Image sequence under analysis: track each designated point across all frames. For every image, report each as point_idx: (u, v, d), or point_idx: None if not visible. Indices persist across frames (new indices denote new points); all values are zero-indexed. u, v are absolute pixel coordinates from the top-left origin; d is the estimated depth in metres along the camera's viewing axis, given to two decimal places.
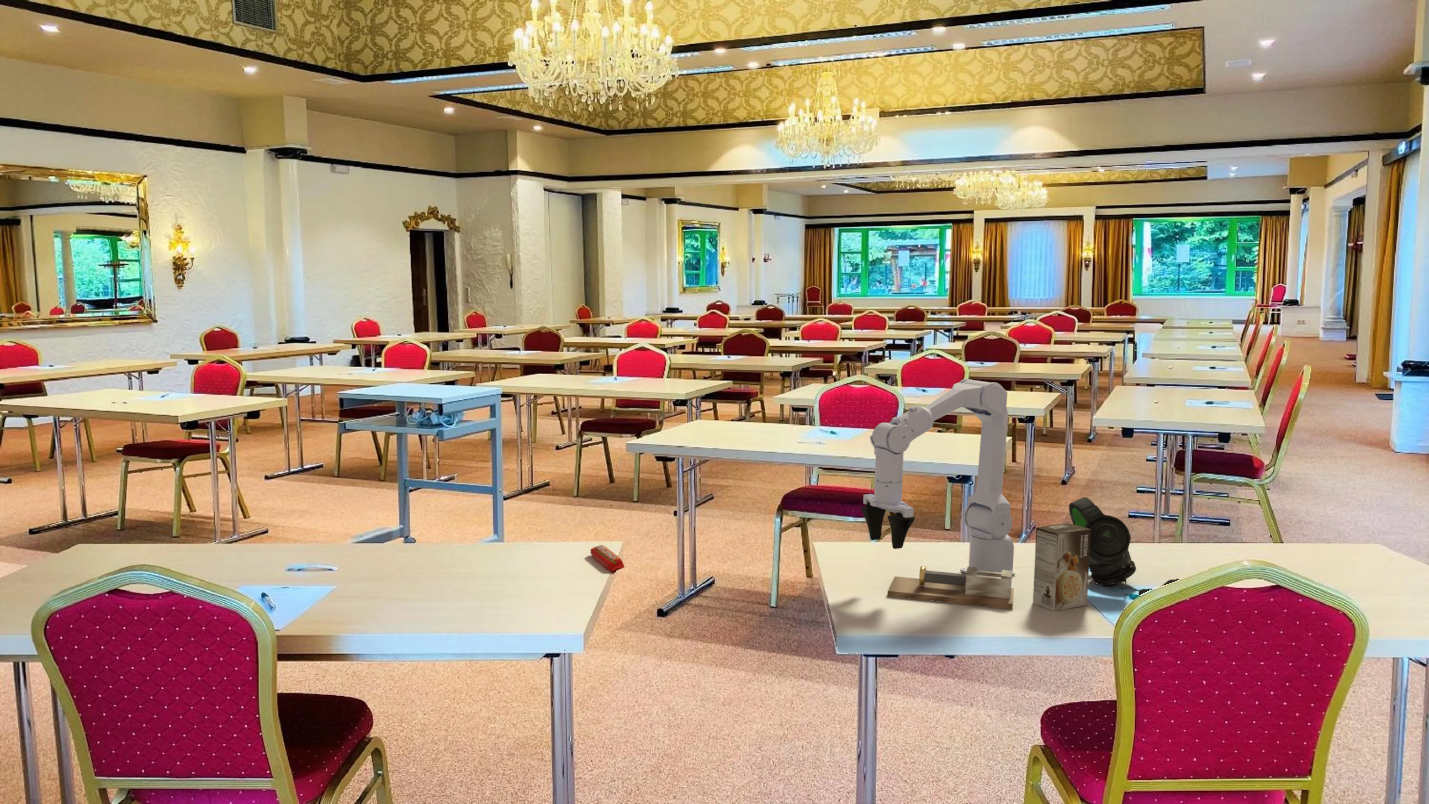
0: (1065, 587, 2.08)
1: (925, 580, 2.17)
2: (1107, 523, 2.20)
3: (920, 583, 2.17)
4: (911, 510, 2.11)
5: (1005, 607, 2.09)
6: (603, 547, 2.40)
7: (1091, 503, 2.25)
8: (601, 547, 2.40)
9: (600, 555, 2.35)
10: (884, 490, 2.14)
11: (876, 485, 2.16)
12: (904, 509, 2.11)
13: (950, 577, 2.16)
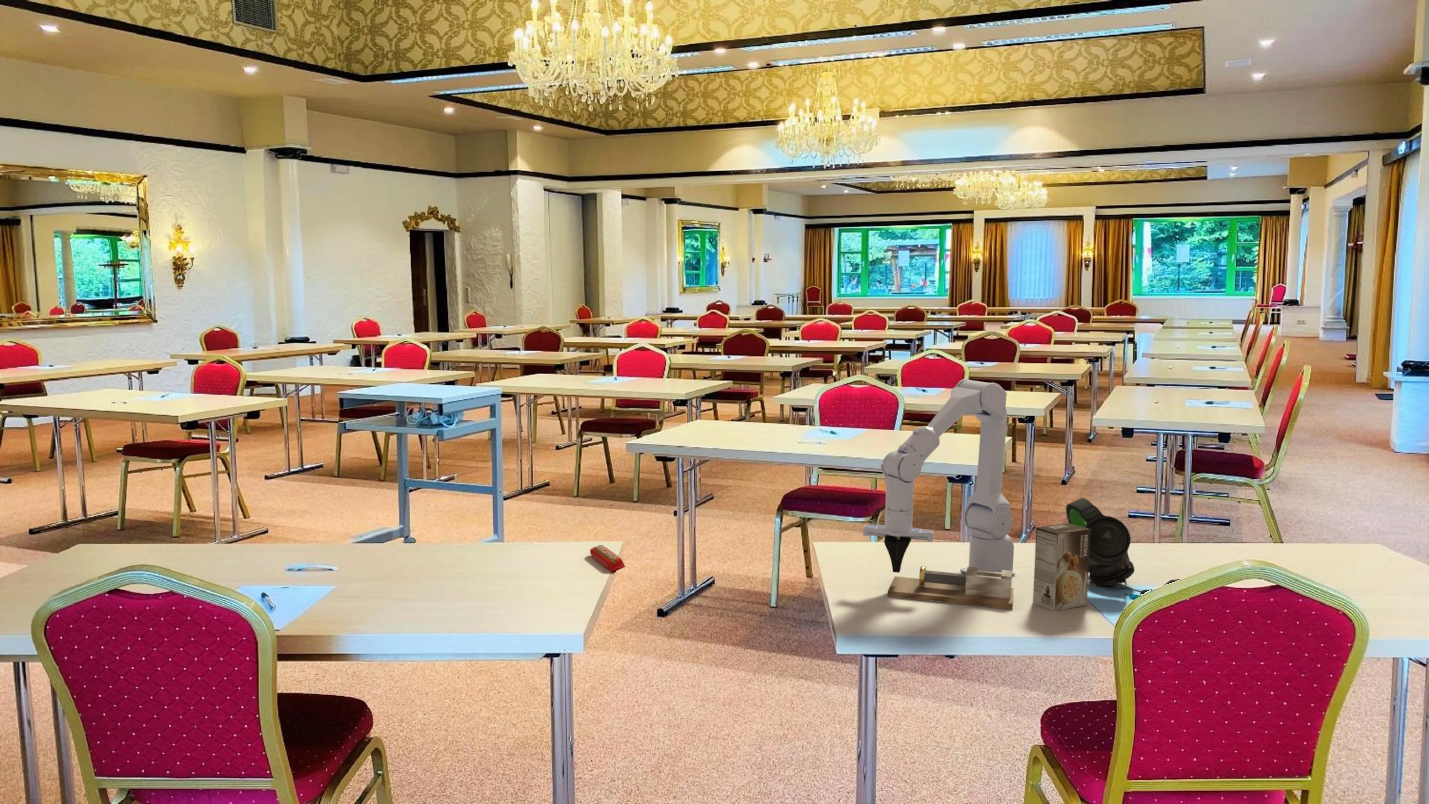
0: (1065, 587, 2.08)
1: (925, 580, 2.17)
2: (1107, 524, 2.19)
3: (920, 583, 2.17)
4: None
5: (1005, 607, 2.09)
6: (603, 547, 2.40)
7: (1090, 504, 2.24)
8: (601, 547, 2.40)
9: (600, 555, 2.35)
10: (905, 519, 2.16)
11: (895, 515, 2.16)
12: (930, 534, 2.16)
13: (950, 577, 2.16)
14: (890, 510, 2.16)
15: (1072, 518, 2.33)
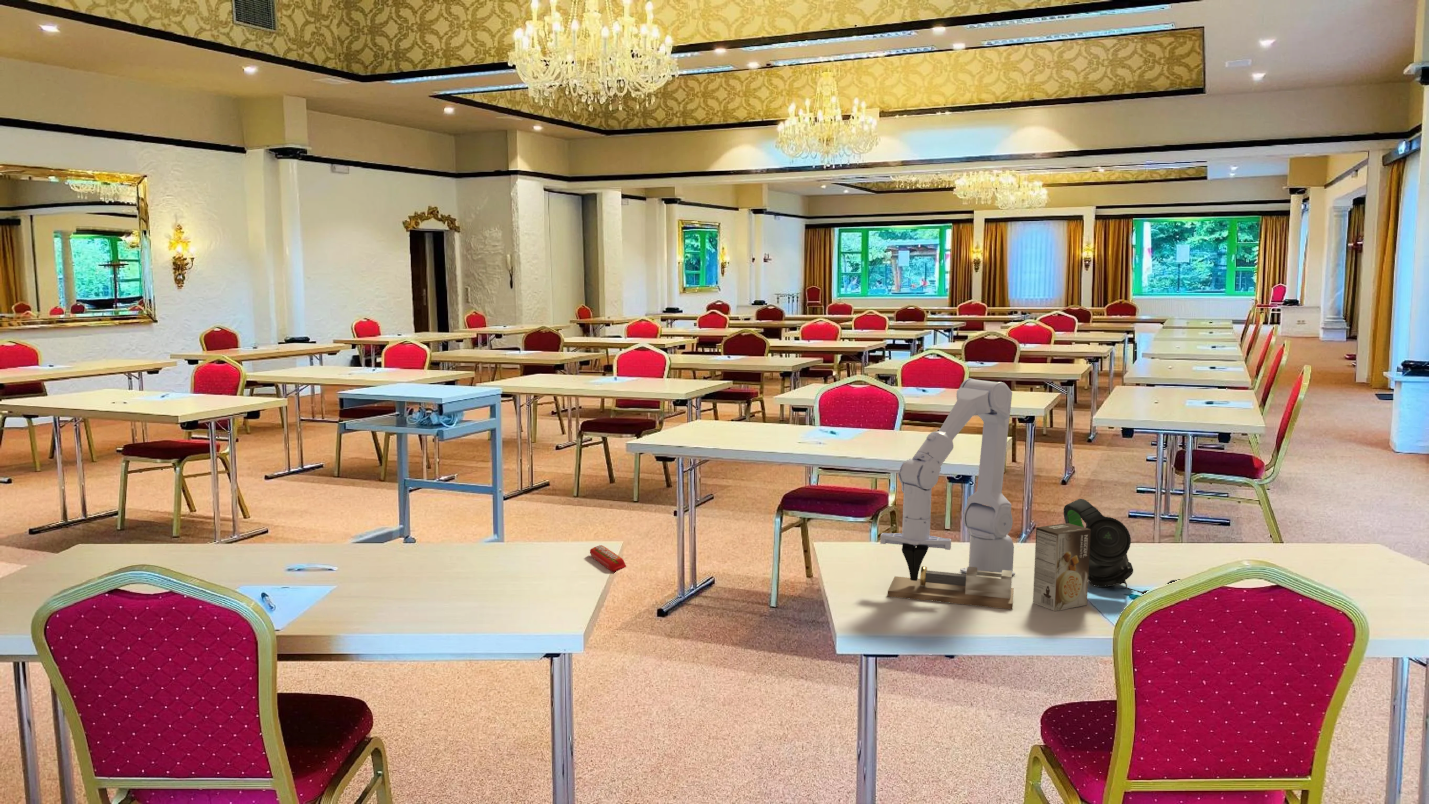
0: (1065, 587, 2.08)
1: (926, 580, 2.17)
2: (1107, 525, 2.18)
3: (921, 583, 2.17)
4: None
5: (1005, 607, 2.09)
6: (603, 547, 2.40)
7: (1089, 505, 2.23)
8: (601, 547, 2.40)
9: (601, 555, 2.35)
10: (923, 527, 2.15)
11: (912, 523, 2.15)
12: (948, 542, 2.15)
13: (951, 577, 2.16)
14: (908, 518, 2.15)
15: (1070, 519, 2.32)
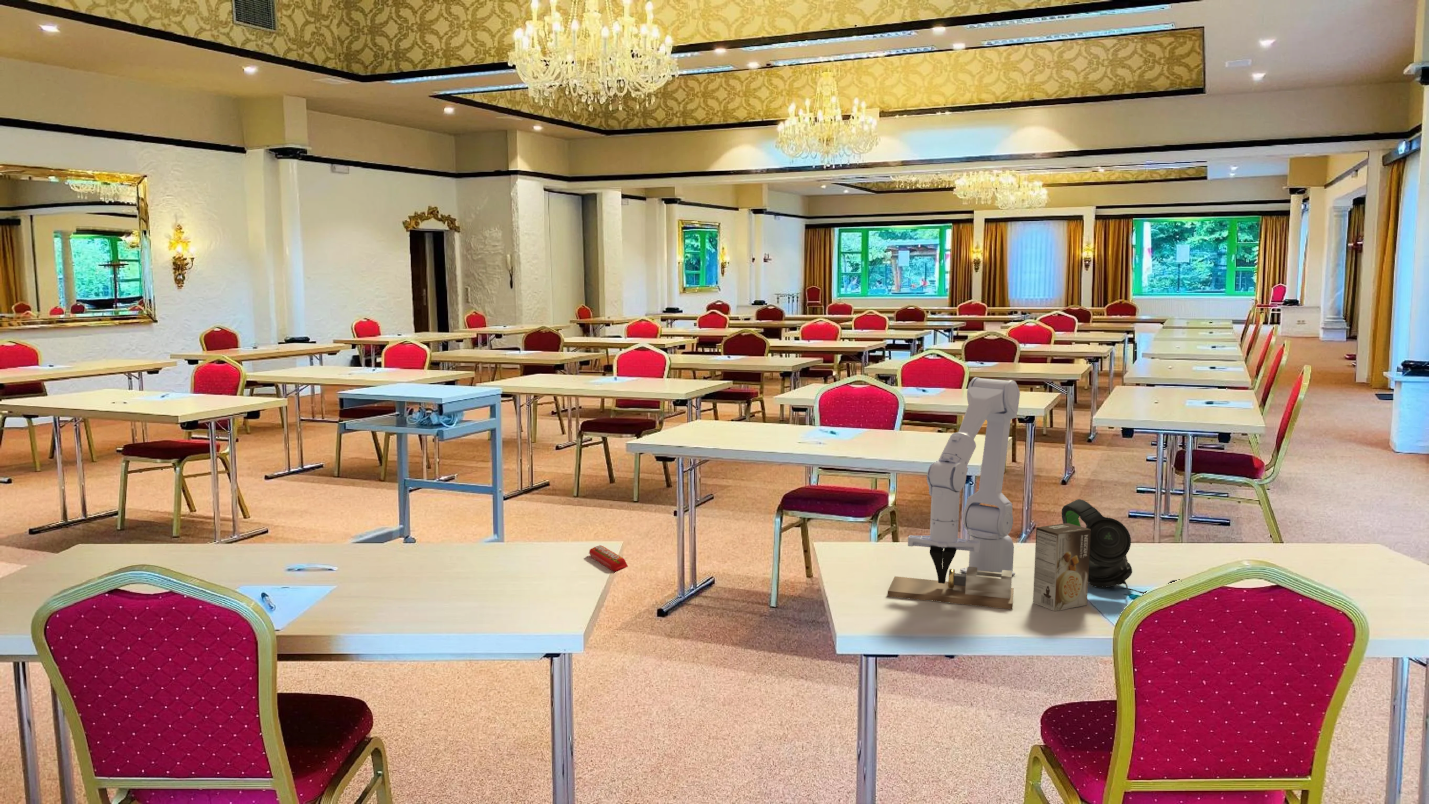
0: (1065, 587, 2.08)
1: (954, 583, 2.16)
2: (1107, 526, 2.18)
3: (949, 586, 2.15)
4: (979, 544, 2.15)
5: (1005, 607, 2.09)
6: (602, 547, 2.40)
7: (1089, 505, 2.22)
8: (600, 547, 2.40)
9: (601, 556, 2.35)
10: (951, 530, 2.13)
11: (941, 525, 2.13)
12: (976, 544, 2.13)
13: None
14: (936, 520, 2.14)
15: (1068, 519, 2.32)
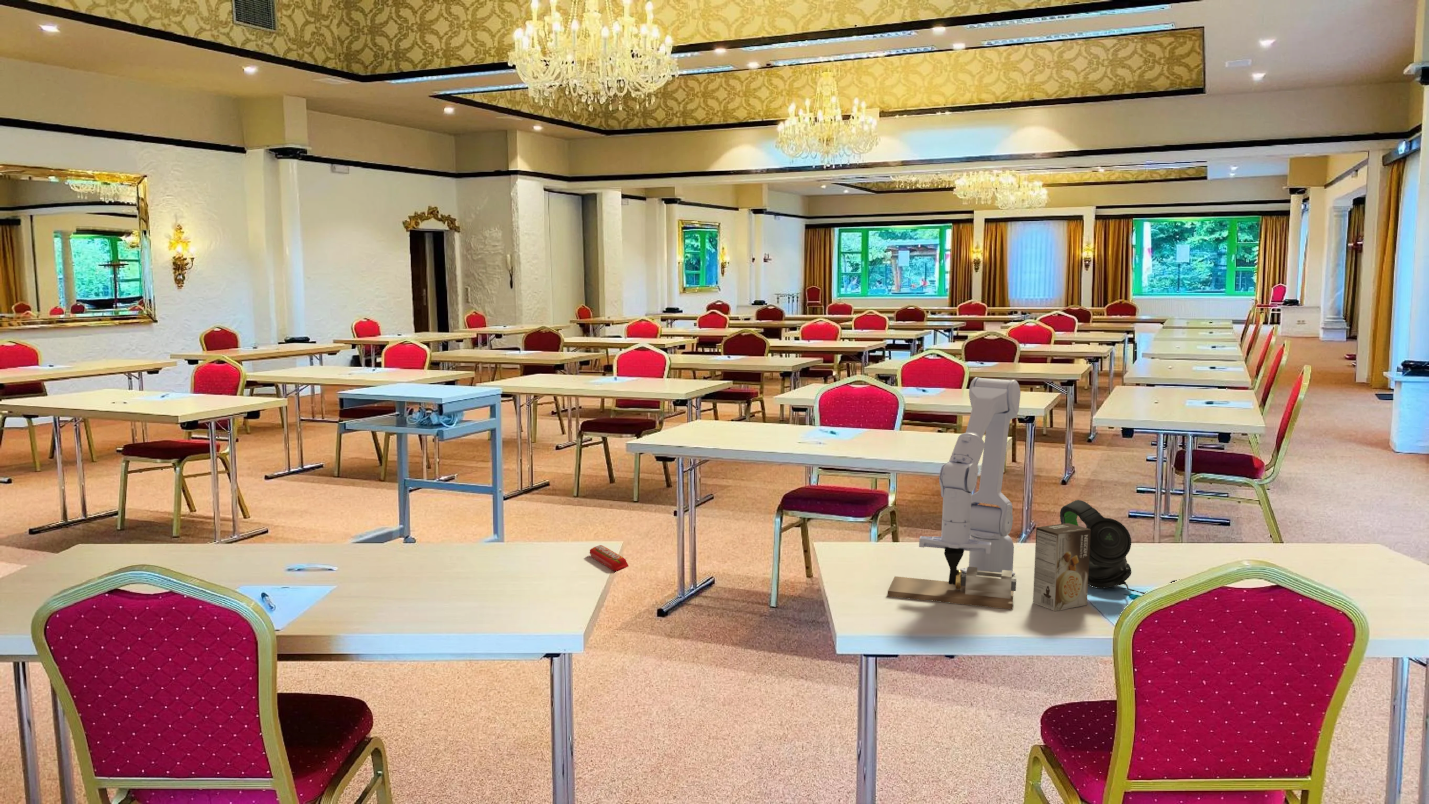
0: (1065, 587, 2.08)
1: (961, 584, 2.15)
2: (1107, 526, 2.17)
3: (956, 587, 2.15)
4: None
5: (1005, 607, 2.09)
6: (603, 547, 2.40)
7: (1088, 506, 2.22)
8: (601, 547, 2.40)
9: (602, 555, 2.36)
10: (963, 531, 2.12)
11: (952, 526, 2.13)
12: (988, 545, 2.13)
13: None
14: (947, 521, 2.13)
15: (1066, 520, 2.31)
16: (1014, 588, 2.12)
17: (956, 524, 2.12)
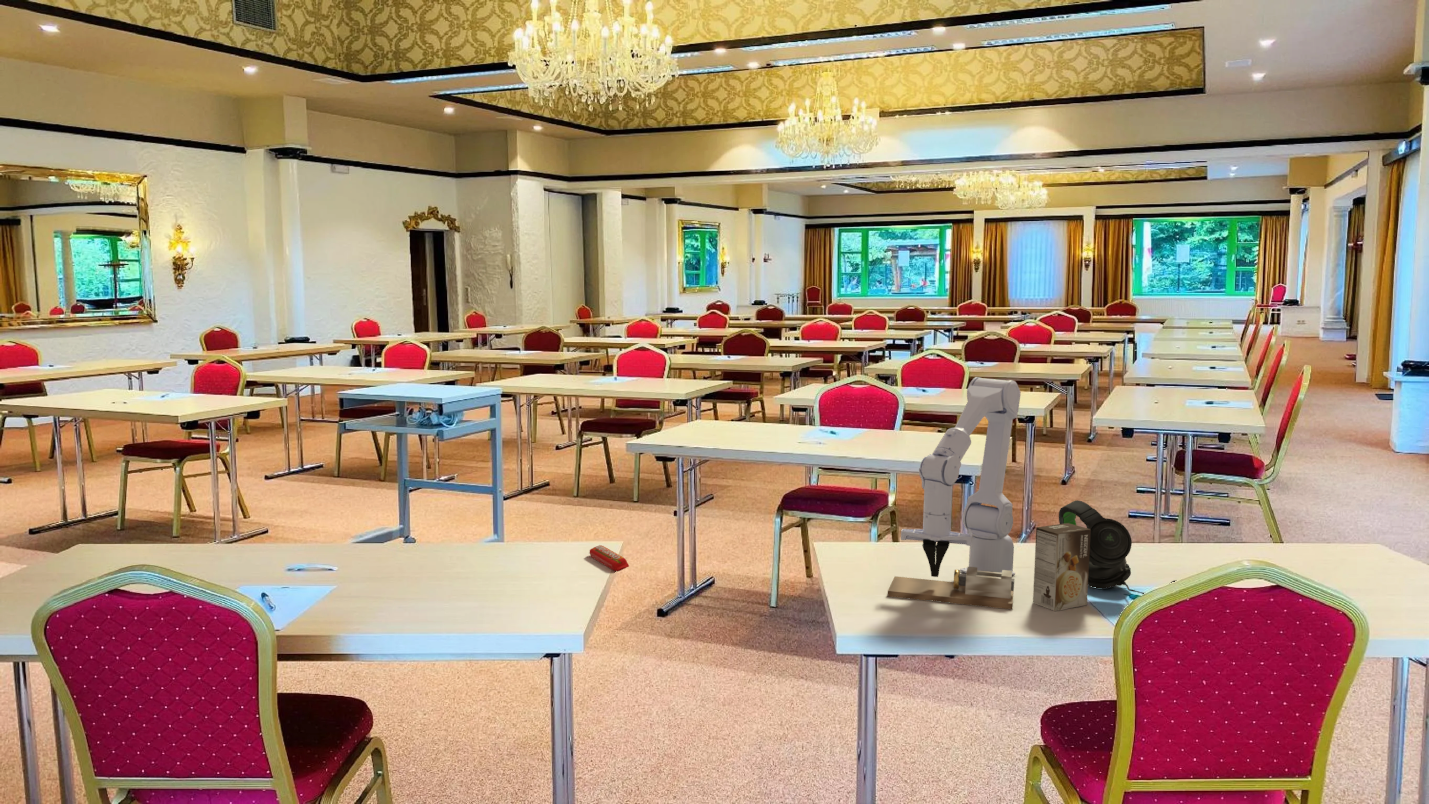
0: (1065, 587, 2.08)
1: (959, 583, 2.15)
2: (1108, 527, 2.17)
3: (954, 586, 2.15)
4: None
5: (1005, 607, 2.09)
6: (603, 547, 2.40)
7: (1088, 506, 2.21)
8: (601, 547, 2.40)
9: (602, 555, 2.36)
10: (944, 523, 2.13)
11: (933, 519, 2.13)
12: (969, 538, 2.14)
13: None
14: (929, 514, 2.14)
15: (1065, 521, 2.31)
16: (1012, 588, 2.12)
17: (937, 516, 2.13)
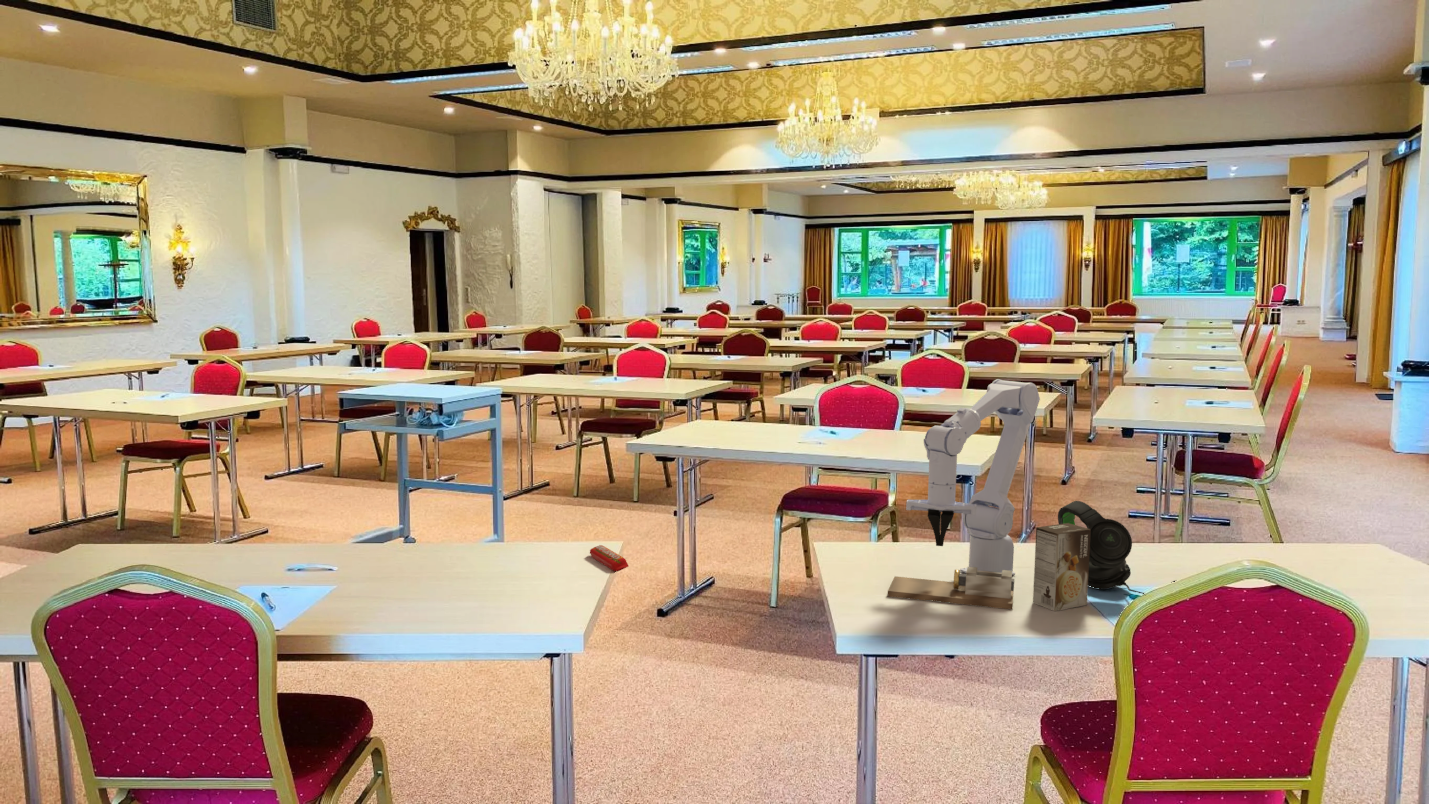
0: (1065, 587, 2.08)
1: (959, 583, 2.15)
2: (1108, 527, 2.16)
3: (954, 586, 2.15)
4: (976, 507, 2.18)
5: (1005, 607, 2.09)
6: (603, 547, 2.40)
7: (1088, 507, 2.21)
8: (601, 547, 2.40)
9: (602, 555, 2.36)
10: (949, 493, 2.17)
11: (938, 489, 2.17)
12: (973, 507, 2.17)
13: None
14: (933, 484, 2.18)
15: (1064, 521, 2.30)
16: (1012, 588, 2.12)
17: (942, 486, 2.17)
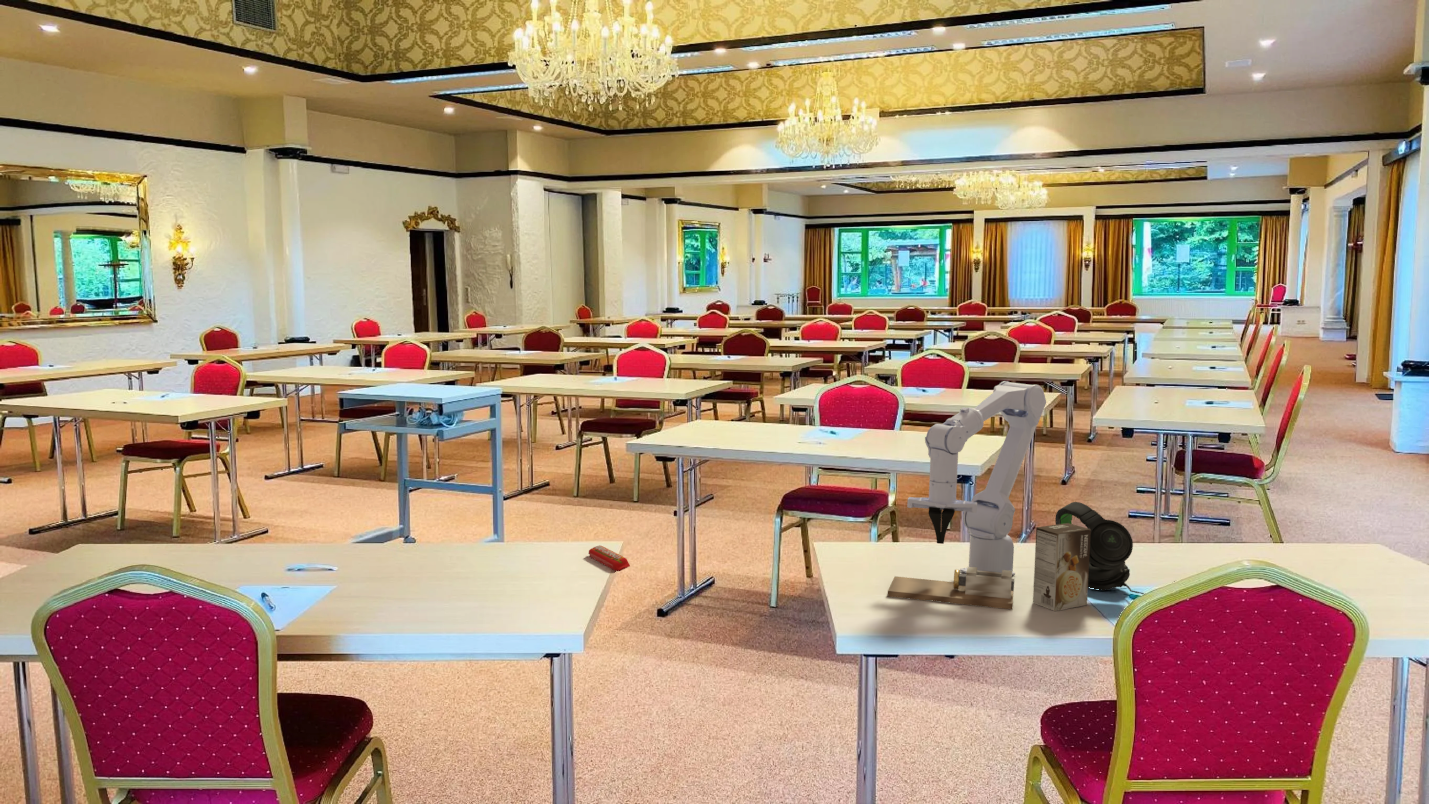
0: (1065, 587, 2.08)
1: (959, 583, 2.15)
2: (1109, 528, 2.16)
3: (954, 586, 2.15)
4: None
5: (1005, 607, 2.09)
6: (602, 547, 2.40)
7: (1088, 508, 2.20)
8: (600, 547, 2.40)
9: (602, 555, 2.35)
10: (949, 491, 2.19)
11: (939, 487, 2.19)
12: (974, 505, 2.19)
13: None
14: (935, 482, 2.19)
15: (1062, 522, 2.29)
16: (1012, 588, 2.12)
17: (943, 484, 2.18)
